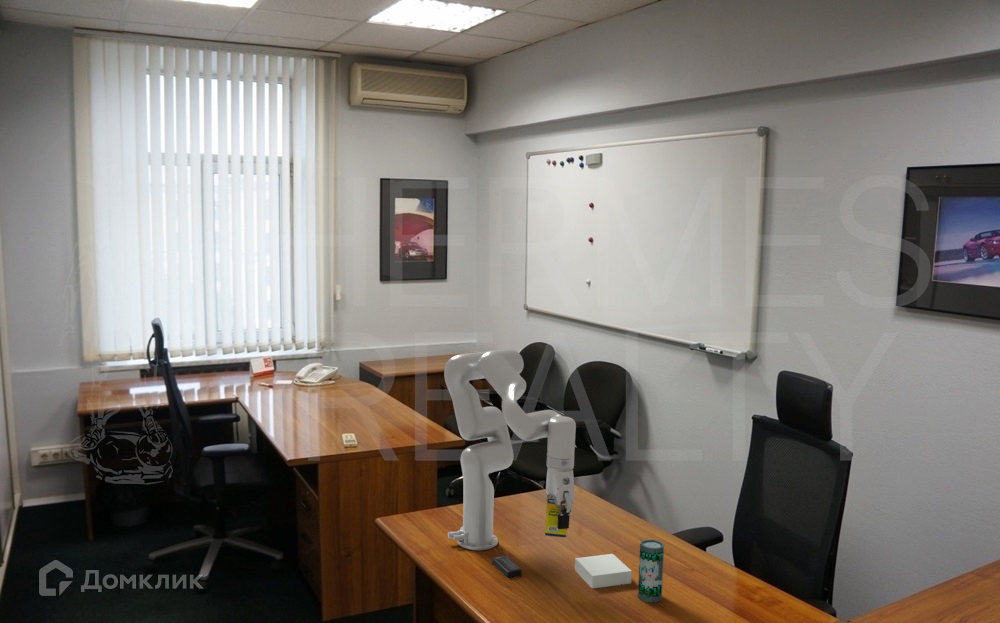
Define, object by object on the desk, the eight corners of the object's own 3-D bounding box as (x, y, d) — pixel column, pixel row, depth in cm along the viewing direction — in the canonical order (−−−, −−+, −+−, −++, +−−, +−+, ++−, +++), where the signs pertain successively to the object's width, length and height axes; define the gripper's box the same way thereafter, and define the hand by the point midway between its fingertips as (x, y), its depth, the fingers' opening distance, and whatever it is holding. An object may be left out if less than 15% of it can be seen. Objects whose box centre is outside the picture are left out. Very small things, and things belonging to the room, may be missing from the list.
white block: (592, 589, 212) (592, 575, 212) (574, 571, 223) (575, 558, 223) (631, 584, 216) (631, 570, 215) (612, 566, 227) (612, 553, 227)
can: (636, 600, 206) (638, 546, 204) (640, 590, 211) (642, 538, 210) (659, 604, 204) (661, 550, 202) (662, 594, 209) (665, 541, 208)
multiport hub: (508, 580, 217) (508, 572, 217) (491, 564, 227) (491, 557, 226) (521, 577, 219) (522, 569, 219) (505, 561, 229) (505, 554, 228)
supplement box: (566, 538, 211) (568, 499, 210) (544, 535, 212) (546, 497, 210) (567, 529, 217) (569, 492, 215) (546, 527, 218) (548, 490, 216)
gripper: (585, 471, 205) (582, 533, 207) (561, 451, 221) (558, 509, 223) (559, 472, 202) (556, 536, 205) (536, 452, 219) (533, 511, 221)
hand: (557, 522), depth 214 cm, fingers closed on supplement box, 7 cm apart
